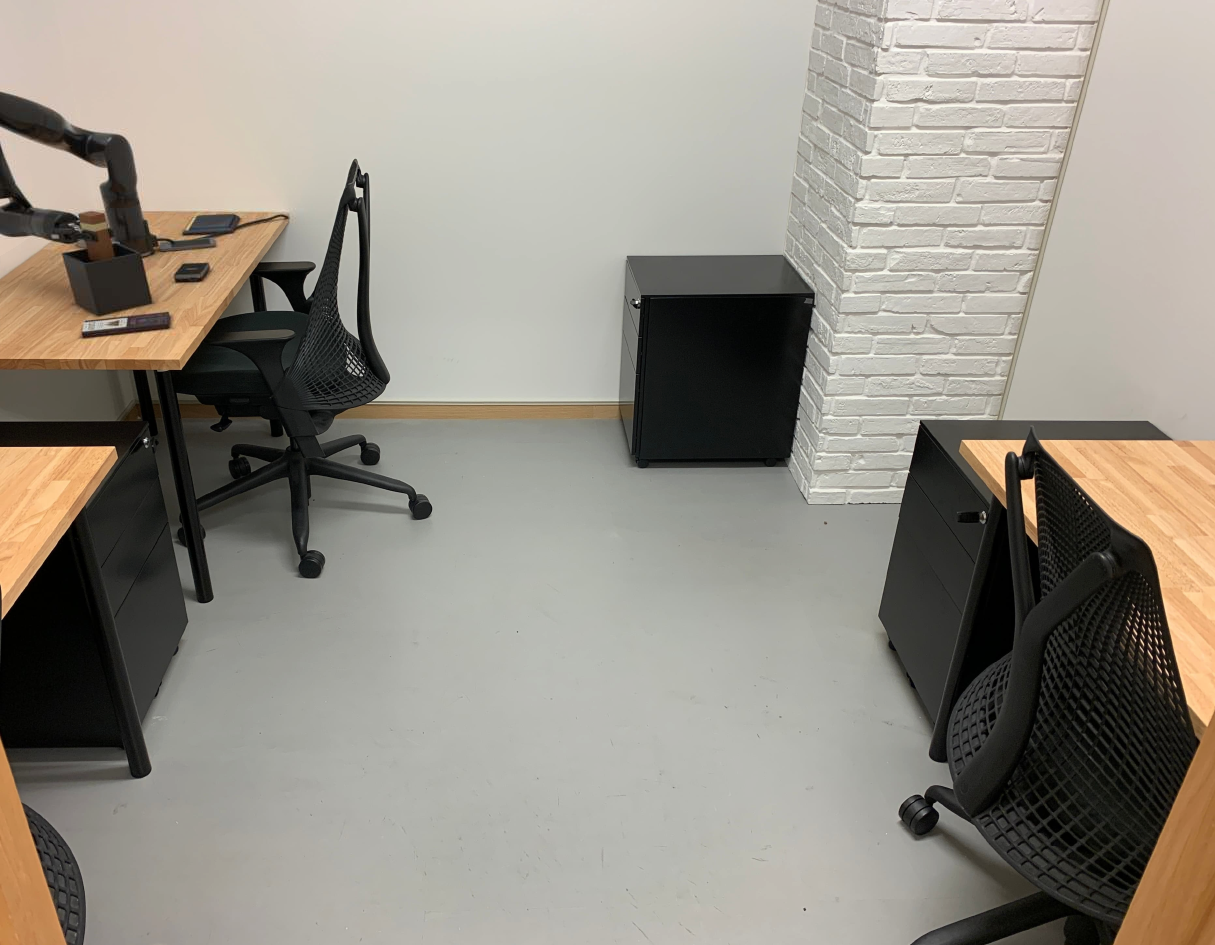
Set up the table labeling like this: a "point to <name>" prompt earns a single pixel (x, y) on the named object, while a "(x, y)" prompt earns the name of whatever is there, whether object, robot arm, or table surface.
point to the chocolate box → (99, 225)
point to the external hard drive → (191, 272)
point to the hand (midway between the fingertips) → (104, 235)
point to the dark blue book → (211, 224)
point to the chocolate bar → (125, 324)
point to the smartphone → (187, 244)
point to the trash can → (108, 280)
